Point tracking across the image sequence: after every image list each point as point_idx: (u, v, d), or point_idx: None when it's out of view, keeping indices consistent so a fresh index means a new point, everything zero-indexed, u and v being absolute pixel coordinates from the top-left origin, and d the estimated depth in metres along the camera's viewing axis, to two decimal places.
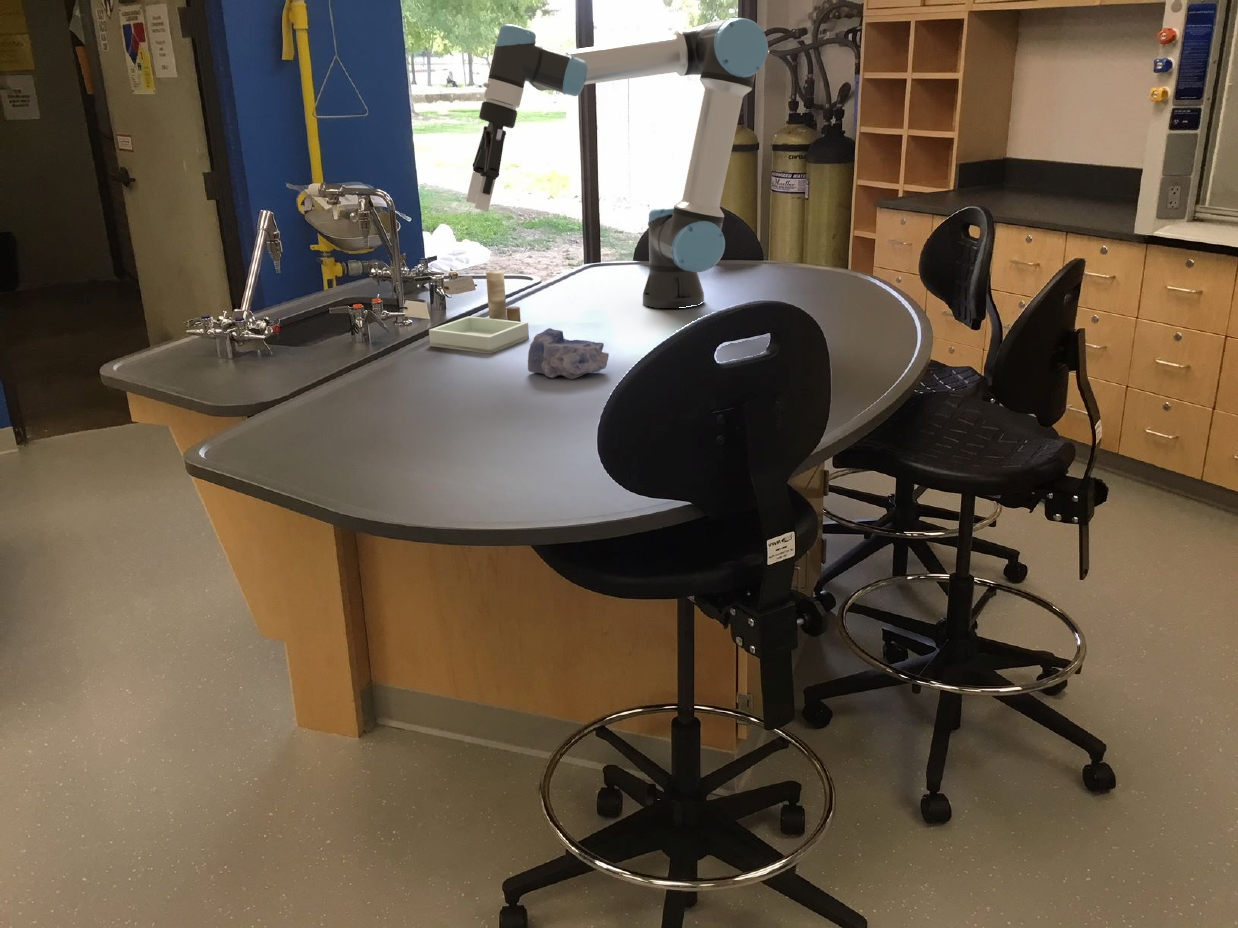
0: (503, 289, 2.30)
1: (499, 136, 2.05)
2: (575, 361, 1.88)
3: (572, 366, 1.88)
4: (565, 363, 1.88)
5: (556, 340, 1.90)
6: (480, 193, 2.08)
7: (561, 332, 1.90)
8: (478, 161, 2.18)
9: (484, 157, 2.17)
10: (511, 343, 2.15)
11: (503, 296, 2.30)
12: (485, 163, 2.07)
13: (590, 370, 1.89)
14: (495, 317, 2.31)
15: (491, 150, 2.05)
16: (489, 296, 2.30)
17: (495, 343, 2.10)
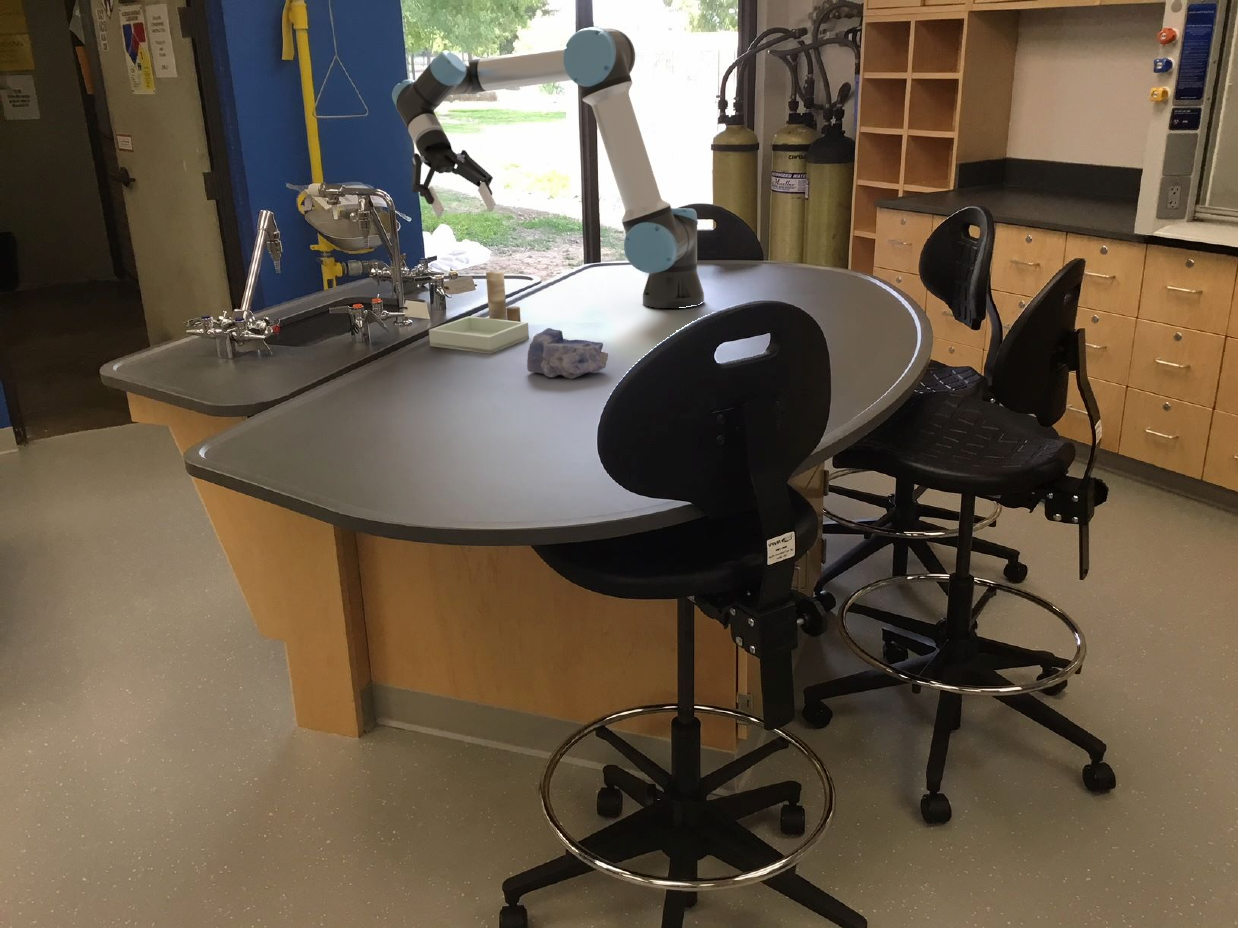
0: (503, 289, 2.30)
1: (414, 161, 2.32)
2: (574, 361, 1.88)
3: (572, 366, 1.88)
4: (564, 363, 1.88)
5: (555, 340, 1.90)
6: (432, 205, 2.29)
7: (560, 332, 1.90)
8: (470, 181, 2.38)
9: (465, 175, 2.37)
10: (511, 343, 2.15)
11: (503, 296, 2.30)
12: None
13: (589, 370, 1.89)
14: (495, 317, 2.31)
15: None
16: (489, 296, 2.30)
17: (495, 343, 2.10)
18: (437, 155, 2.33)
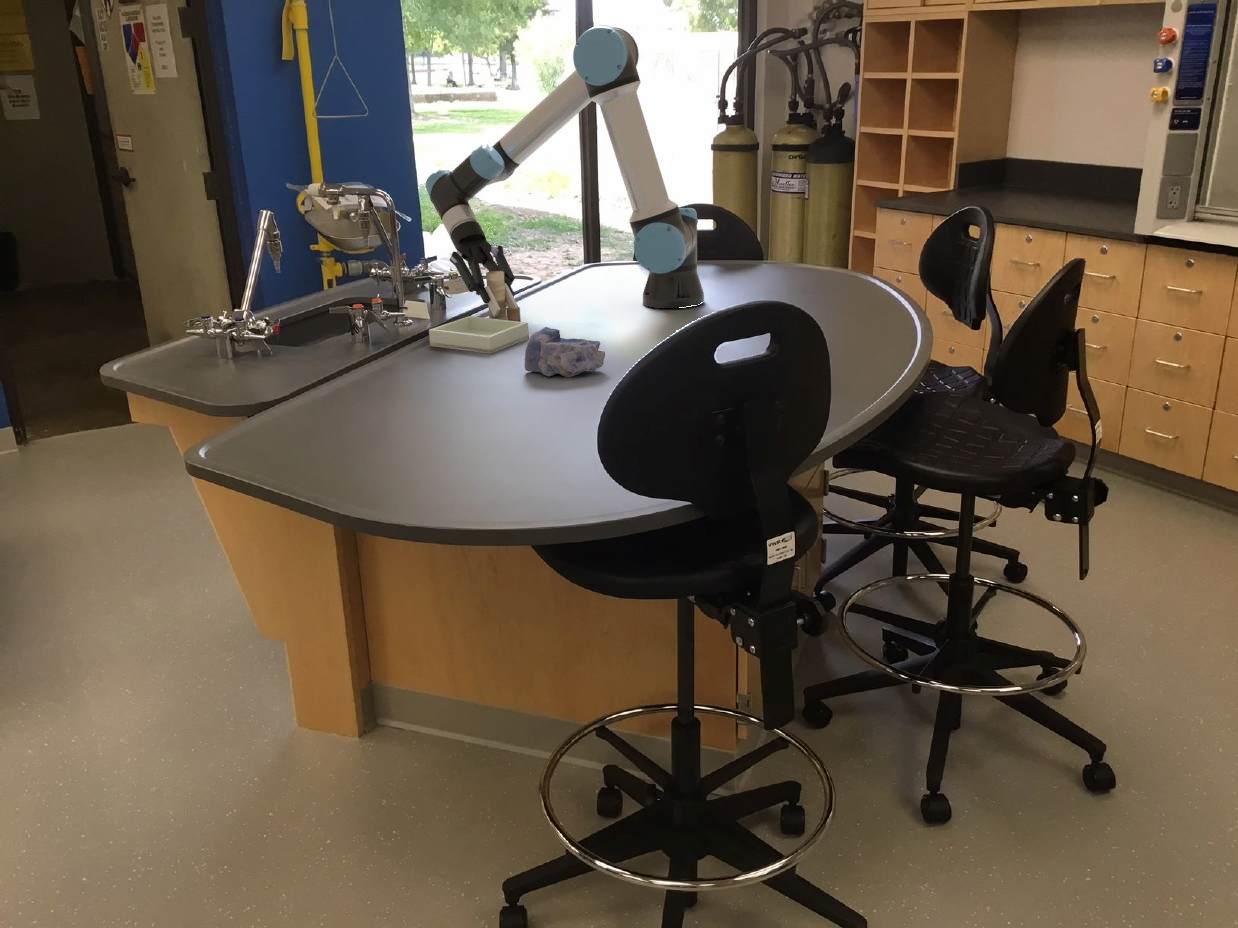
0: (503, 289, 2.30)
1: (454, 260, 2.30)
2: (572, 360, 1.89)
3: (569, 364, 1.89)
4: (562, 362, 1.89)
5: (553, 339, 1.91)
6: (488, 304, 2.29)
7: (558, 331, 1.91)
8: None
9: (492, 270, 2.33)
10: (511, 343, 2.15)
11: (503, 296, 2.30)
12: None
13: (587, 368, 1.90)
14: (495, 317, 2.31)
15: (460, 274, 2.30)
16: None
17: (495, 343, 2.10)
18: (472, 248, 2.31)
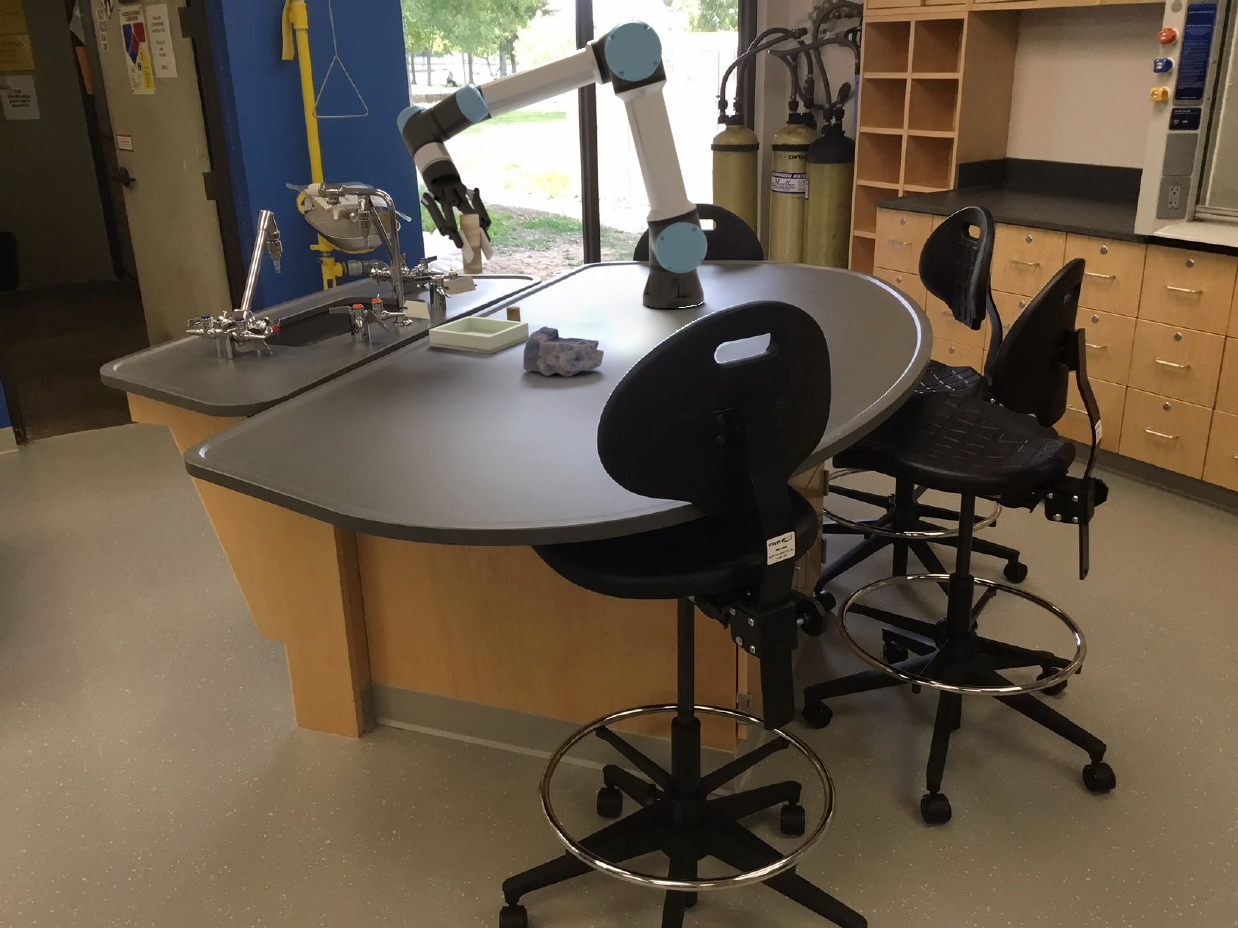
0: (478, 233, 2.11)
1: (425, 201, 2.11)
2: (570, 359, 1.90)
3: (568, 364, 1.90)
4: (561, 361, 1.89)
5: (551, 338, 1.91)
6: (462, 250, 2.11)
7: (556, 330, 1.92)
8: None
9: None
10: (511, 343, 2.15)
11: (478, 241, 2.12)
12: None
13: (586, 368, 1.91)
14: (469, 264, 2.12)
15: (432, 217, 2.12)
16: None
17: (495, 343, 2.10)
18: (445, 189, 2.13)
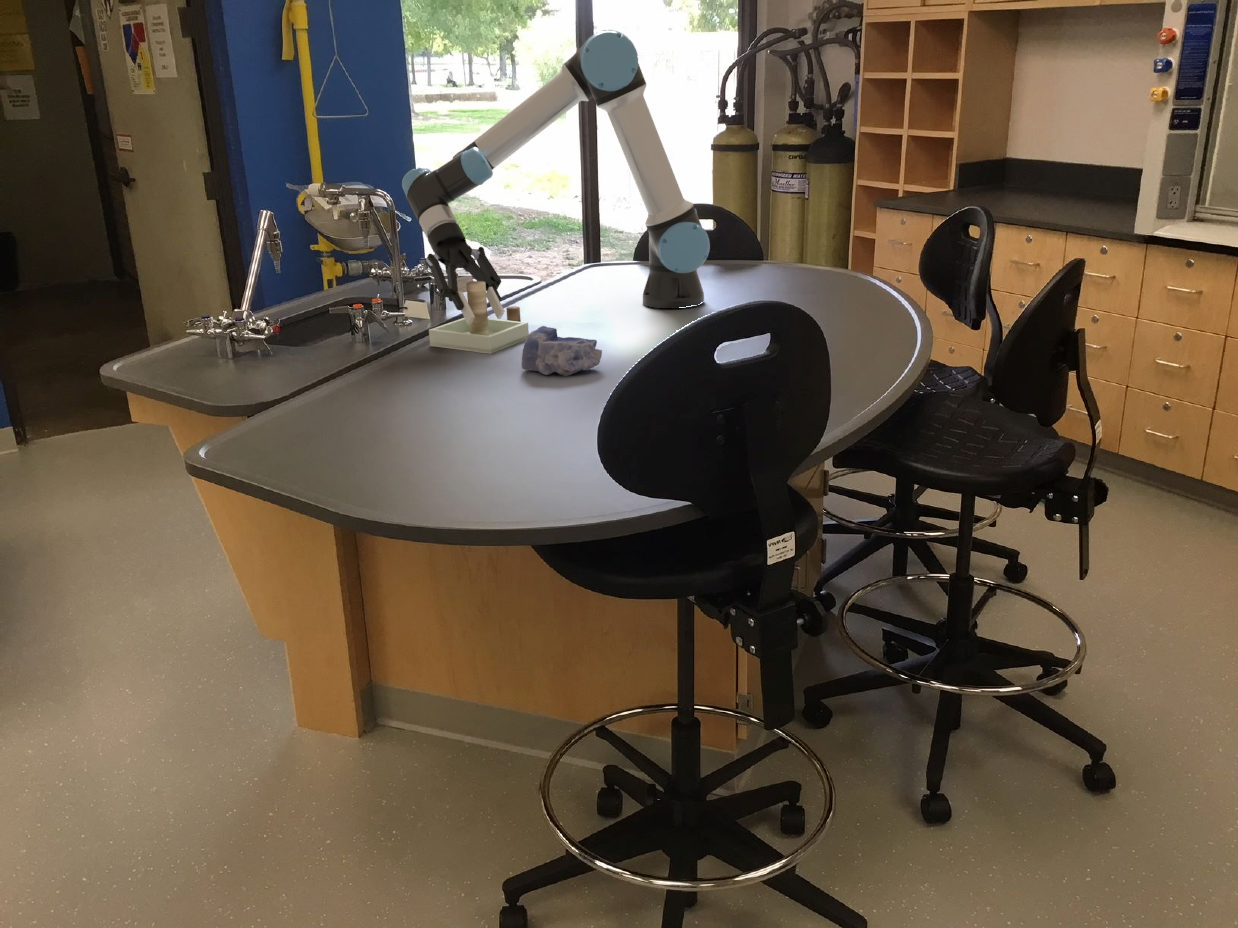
0: (485, 301, 2.14)
1: (429, 263, 2.14)
2: (569, 358, 1.90)
3: (567, 363, 1.90)
4: (560, 360, 1.90)
5: (550, 337, 1.92)
6: (462, 311, 2.13)
7: (555, 329, 1.92)
8: None
9: (475, 274, 2.18)
10: (511, 343, 2.15)
11: (485, 308, 2.15)
12: None
13: (584, 367, 1.91)
14: (476, 330, 2.16)
15: (434, 278, 2.14)
16: None
17: (495, 343, 2.10)
18: (451, 251, 2.16)
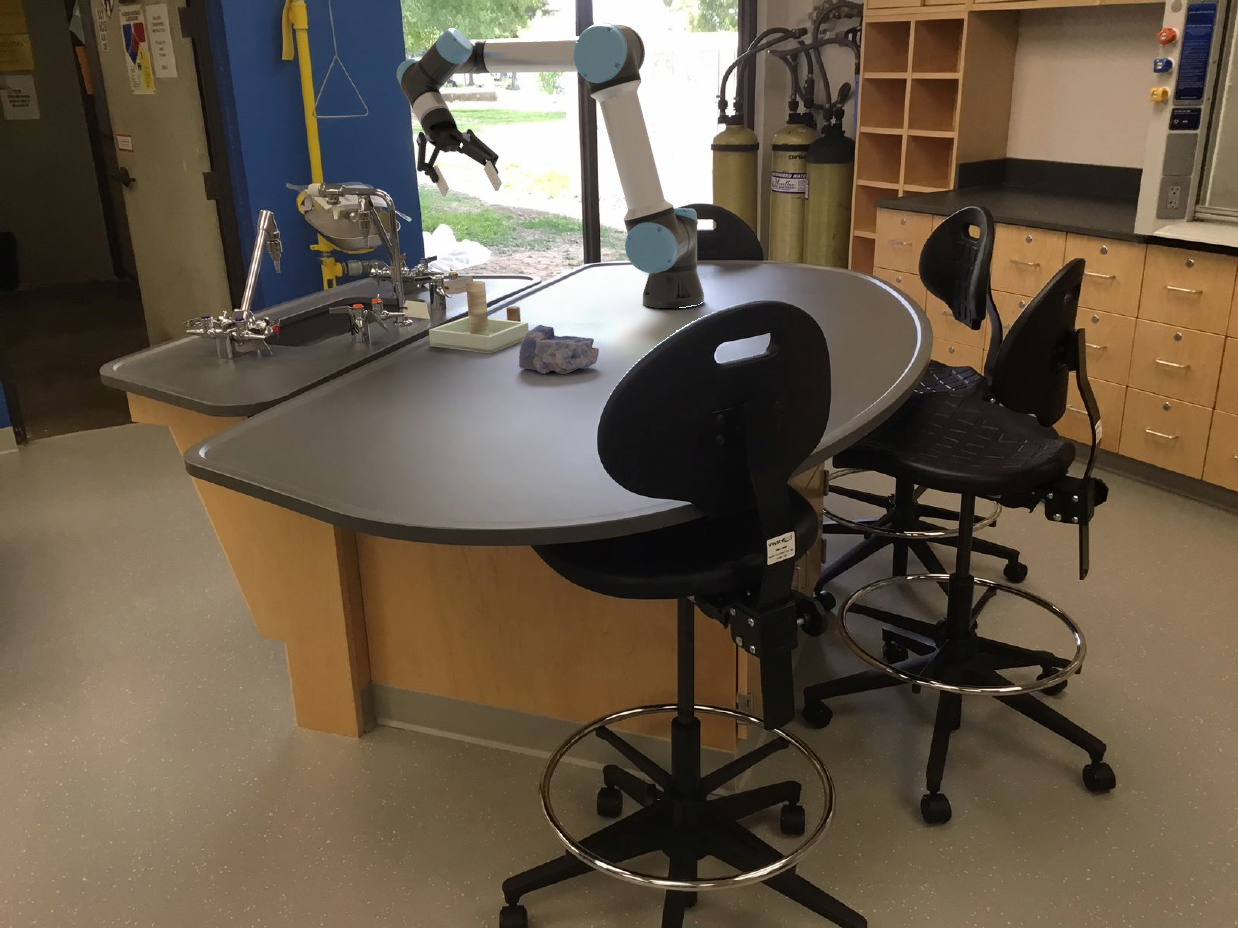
0: (484, 301, 2.14)
1: (418, 140, 2.28)
2: (567, 357, 1.91)
3: (564, 361, 1.91)
4: (557, 359, 1.91)
5: (547, 336, 1.93)
6: (437, 184, 2.26)
7: (552, 328, 1.93)
8: (476, 160, 2.34)
9: (471, 154, 2.34)
10: (511, 343, 2.15)
11: (484, 308, 2.15)
12: None
13: (582, 365, 1.93)
14: (476, 331, 2.16)
15: None
16: (469, 308, 2.14)
17: (495, 343, 2.10)
18: (442, 134, 2.30)
